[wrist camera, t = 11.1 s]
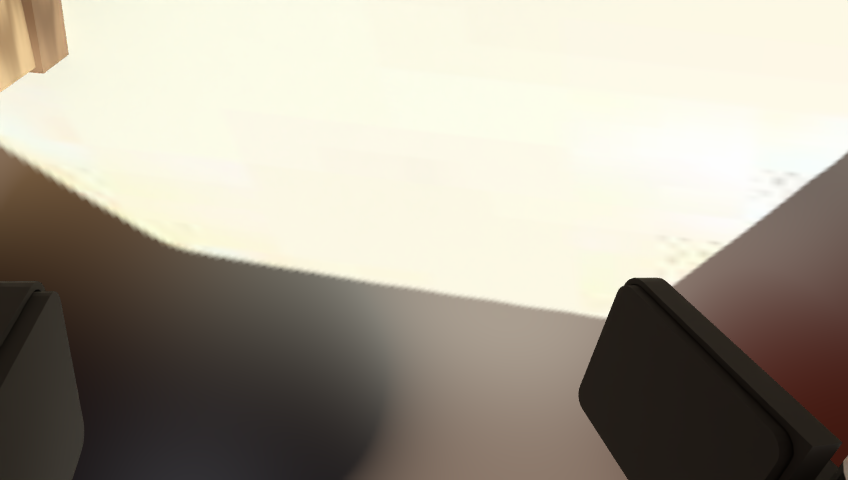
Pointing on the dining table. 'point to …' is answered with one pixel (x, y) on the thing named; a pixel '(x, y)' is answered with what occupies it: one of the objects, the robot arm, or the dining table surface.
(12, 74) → the oak middle block
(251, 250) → the dining table surface
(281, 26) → the dining table surface
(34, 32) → the brown wooden block
